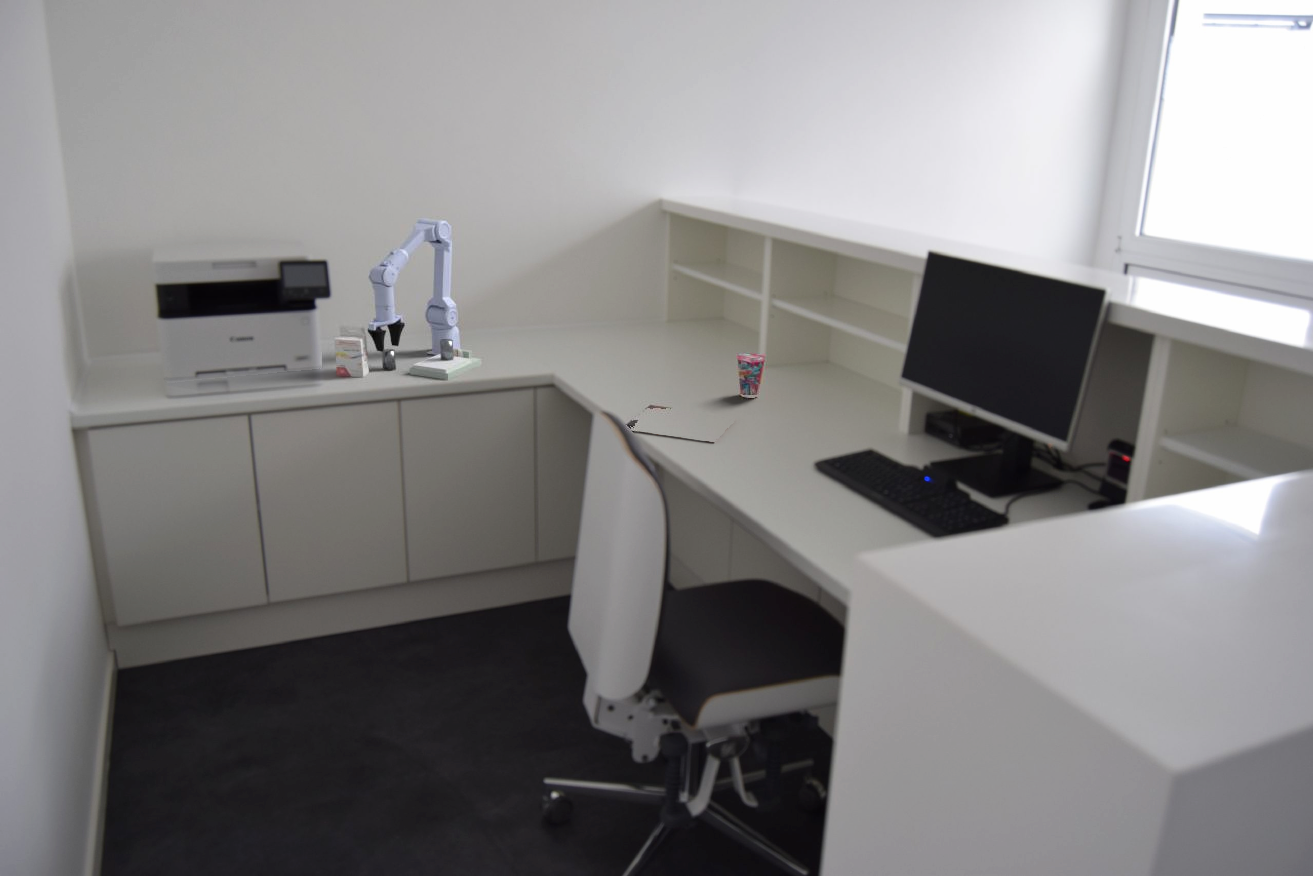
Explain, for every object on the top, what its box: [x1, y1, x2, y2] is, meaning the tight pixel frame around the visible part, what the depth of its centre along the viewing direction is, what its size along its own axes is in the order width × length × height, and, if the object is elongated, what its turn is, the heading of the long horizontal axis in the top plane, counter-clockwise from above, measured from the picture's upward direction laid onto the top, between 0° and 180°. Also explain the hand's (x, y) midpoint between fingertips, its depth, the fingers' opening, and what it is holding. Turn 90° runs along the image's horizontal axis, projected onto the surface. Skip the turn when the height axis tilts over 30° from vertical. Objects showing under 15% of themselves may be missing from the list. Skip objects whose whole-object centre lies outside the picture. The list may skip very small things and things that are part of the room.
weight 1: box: [381, 348, 397, 372], centre depth 312 cm, size 4×4×6 cm
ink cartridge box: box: [333, 325, 370, 378], centre depth 304 cm, size 9×5×15 cm, turn 84°
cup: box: [736, 352, 767, 395], centre depth 292 cm, size 9×8×12 cm
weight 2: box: [440, 339, 454, 361], centre depth 313 cm, size 4×4×6 cm
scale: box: [408, 348, 482, 381], centre depth 313 cm, size 19×14×5 cm
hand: (387, 348), depth 310 cm, fingers open, 7 cm apart
